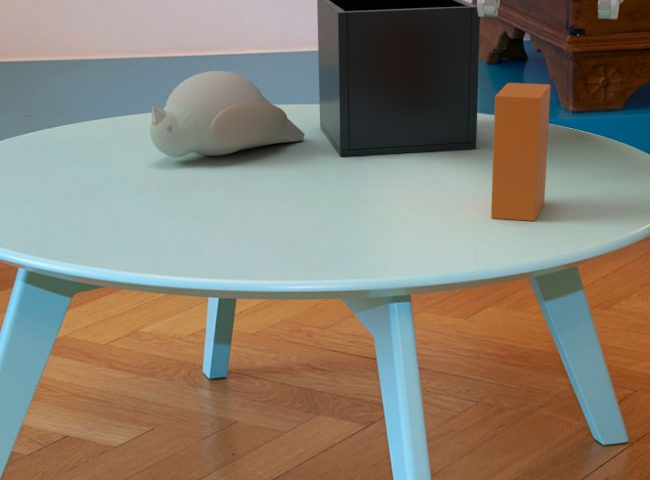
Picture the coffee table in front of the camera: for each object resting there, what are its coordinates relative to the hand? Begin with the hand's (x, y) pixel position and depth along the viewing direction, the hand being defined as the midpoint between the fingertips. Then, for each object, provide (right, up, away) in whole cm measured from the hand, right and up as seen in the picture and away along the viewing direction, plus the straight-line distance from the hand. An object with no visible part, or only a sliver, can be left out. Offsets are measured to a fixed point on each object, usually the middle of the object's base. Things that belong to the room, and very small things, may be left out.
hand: (545, 13), depth 89 cm
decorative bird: (-26, -9, +16) cm, 32 cm away
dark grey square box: (-11, -7, +19) cm, 23 cm away
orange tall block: (-3, -16, -4) cm, 17 cm away
